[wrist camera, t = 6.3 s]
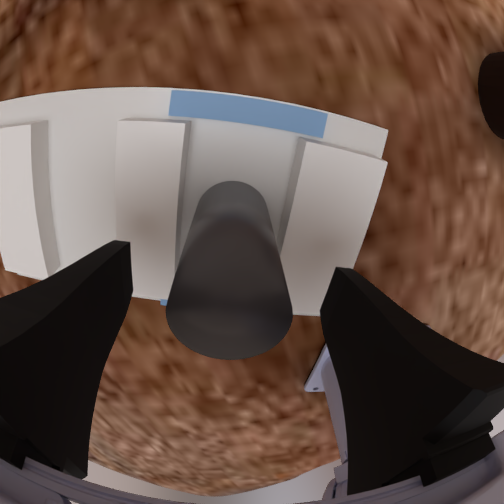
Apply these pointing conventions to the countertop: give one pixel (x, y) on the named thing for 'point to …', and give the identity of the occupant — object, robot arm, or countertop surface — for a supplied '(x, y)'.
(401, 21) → the countertop surface
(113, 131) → the white slotted board
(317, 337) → the countertop surface
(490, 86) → the coffee mug
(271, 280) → the dark grey rounded piece
